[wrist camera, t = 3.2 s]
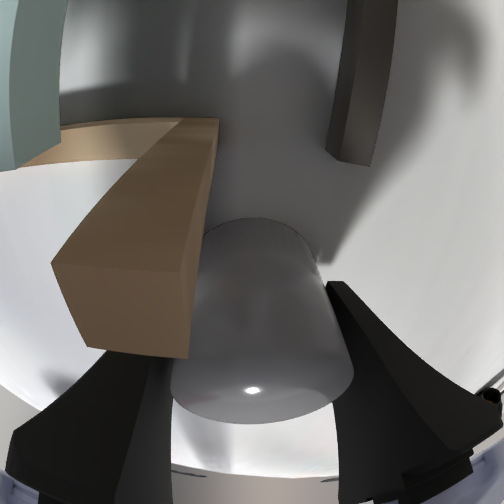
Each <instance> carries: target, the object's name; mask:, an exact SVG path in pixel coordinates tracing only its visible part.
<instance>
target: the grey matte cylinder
mask: <svg viewBox="0 0 504 504" xmlns="http://www.w3.org/2000/svg"><path fill="white" fill-rule="evenodd" d="M353 376H354V368H353V365H352V362H351V359H350V356H349V353H348V350H347V347H346V344H345V341H344V338H343V335H342V332H341V330H340V327H339V324H338V321H337V318H336V316H335V313H334V310H333V308H332V305H331V302H330V299H329V297H328V294H327V291H326V289H325V286H324V284H323V281H322V278H321V276H320V273H319V271H318V268H317V266H316V263H315V261H314V258H313V256H312V253H311V251H310V249H309V246H308V244H307V243H306V242H305V240H304V239H303V238H302V237H301V236H300V235H299V234H298V233H297V232H296V231H294V230H293V229H292V228H290V227H288V226H286V225H285V224H282V223H279V222H277V221H273V220H269V219H262V218H245V219H238V220H234V221H230V222H227V223H224V224H222V225H220V226H218V227H216V228H214V229H212V230H211V231H210V232H208V233H207V234H206V235H205V236H203V237H202V244H201V251H200V258H199V265H198V272H197V280H196V288H195V296H194V305H193V314H192V323H191V333H190V343H189V353H188V359H181V358H173V366H172V375H171V384H170V390H171V394H172V396H173V398H174V399H175V400H176V402H177V403H178V404H179V405H181V406H182V407H183V408H185V409H186V410H188V411H190V412H192V413H193V414H196V415H198V416H201V417H204V418H207V419H210V420H214V421H219V422H225V423H233V424H264V423H273V422H279V421H284V420H289V419H293V418H297V417H300V416H303V415H306V414H309V413H311V412H314V411H316V410H318V409H320V408H322V407H324V406H326V405H328V404H329V403H331V402H332V401H334V400H335V399H337V398H338V397H339V396H340V395H341V394H343V393H344V391H345V390H346V389H347V388H348V387H349V385H350V384H351V382H352V379H353Z"/></svg>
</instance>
